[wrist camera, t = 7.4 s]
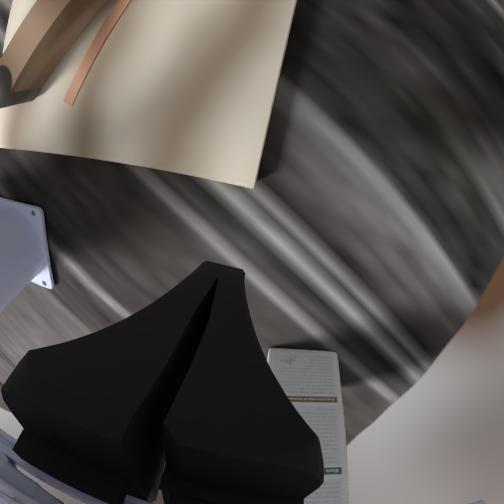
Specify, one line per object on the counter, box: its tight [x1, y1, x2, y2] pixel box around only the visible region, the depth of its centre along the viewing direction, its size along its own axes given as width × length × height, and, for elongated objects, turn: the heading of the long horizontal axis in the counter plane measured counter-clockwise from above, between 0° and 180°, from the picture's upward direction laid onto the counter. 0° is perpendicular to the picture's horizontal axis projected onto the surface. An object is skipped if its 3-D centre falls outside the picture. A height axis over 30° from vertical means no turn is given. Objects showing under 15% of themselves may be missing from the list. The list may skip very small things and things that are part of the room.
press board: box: [0, 0, 297, 189], centre depth 13 cm, size 20×20×2 cm
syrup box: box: [267, 348, 349, 504], centre depth 19 cm, size 6×6×14 cm
